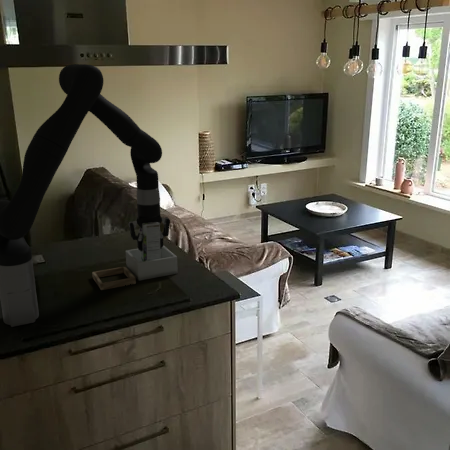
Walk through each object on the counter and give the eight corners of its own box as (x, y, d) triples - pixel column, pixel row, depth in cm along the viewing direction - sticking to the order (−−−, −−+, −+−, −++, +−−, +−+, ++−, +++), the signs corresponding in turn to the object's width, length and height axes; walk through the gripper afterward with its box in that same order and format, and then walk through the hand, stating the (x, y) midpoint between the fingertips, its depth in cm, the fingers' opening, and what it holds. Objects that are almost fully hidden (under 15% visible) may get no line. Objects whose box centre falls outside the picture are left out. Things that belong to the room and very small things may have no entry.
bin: (177, 273, 175) (177, 256, 173) (138, 280, 169) (137, 263, 167) (163, 260, 187) (162, 244, 185) (126, 266, 181) (125, 250, 179)
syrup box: (140, 260, 179) (138, 219, 174) (157, 258, 181) (156, 217, 176) (144, 265, 173) (142, 224, 169) (161, 263, 175) (160, 222, 171)
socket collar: (135, 283, 167) (135, 277, 166) (101, 290, 162) (100, 284, 162) (125, 271, 176) (125, 266, 176) (92, 277, 172) (92, 272, 171)
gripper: (166, 196, 177) (167, 243, 182) (124, 200, 171) (127, 248, 176) (172, 201, 170) (174, 250, 175) (129, 206, 165) (131, 255, 170)
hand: (150, 249), depth 176 cm, fingers closed on syrup box, 6 cm apart
